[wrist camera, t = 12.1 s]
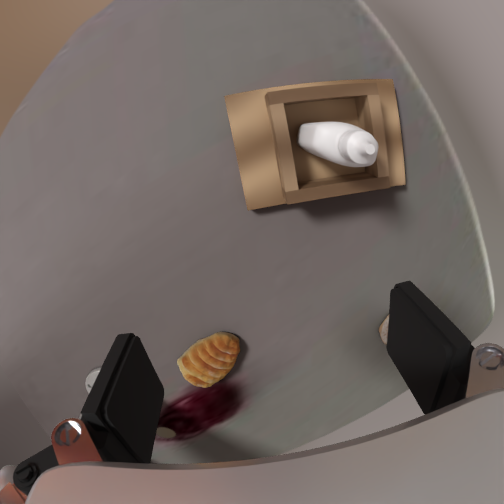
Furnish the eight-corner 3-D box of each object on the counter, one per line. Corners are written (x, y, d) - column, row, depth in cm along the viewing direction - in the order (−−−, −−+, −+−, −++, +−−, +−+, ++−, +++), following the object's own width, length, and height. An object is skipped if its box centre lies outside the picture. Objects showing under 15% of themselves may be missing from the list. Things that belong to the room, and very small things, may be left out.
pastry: (212, 317, 38) (210, 336, 35) (253, 342, 40) (254, 361, 37) (175, 358, 41) (171, 376, 37) (213, 378, 43) (212, 397, 39)
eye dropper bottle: (316, 106, 27) (361, 95, 16) (355, 144, 29) (415, 157, 18) (288, 137, 28) (317, 142, 17) (328, 174, 30) (376, 201, 19)
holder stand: (399, 181, 32) (421, 191, 27) (247, 207, 33) (248, 220, 28) (386, 80, 27) (408, 75, 23) (225, 97, 28) (222, 91, 23)
